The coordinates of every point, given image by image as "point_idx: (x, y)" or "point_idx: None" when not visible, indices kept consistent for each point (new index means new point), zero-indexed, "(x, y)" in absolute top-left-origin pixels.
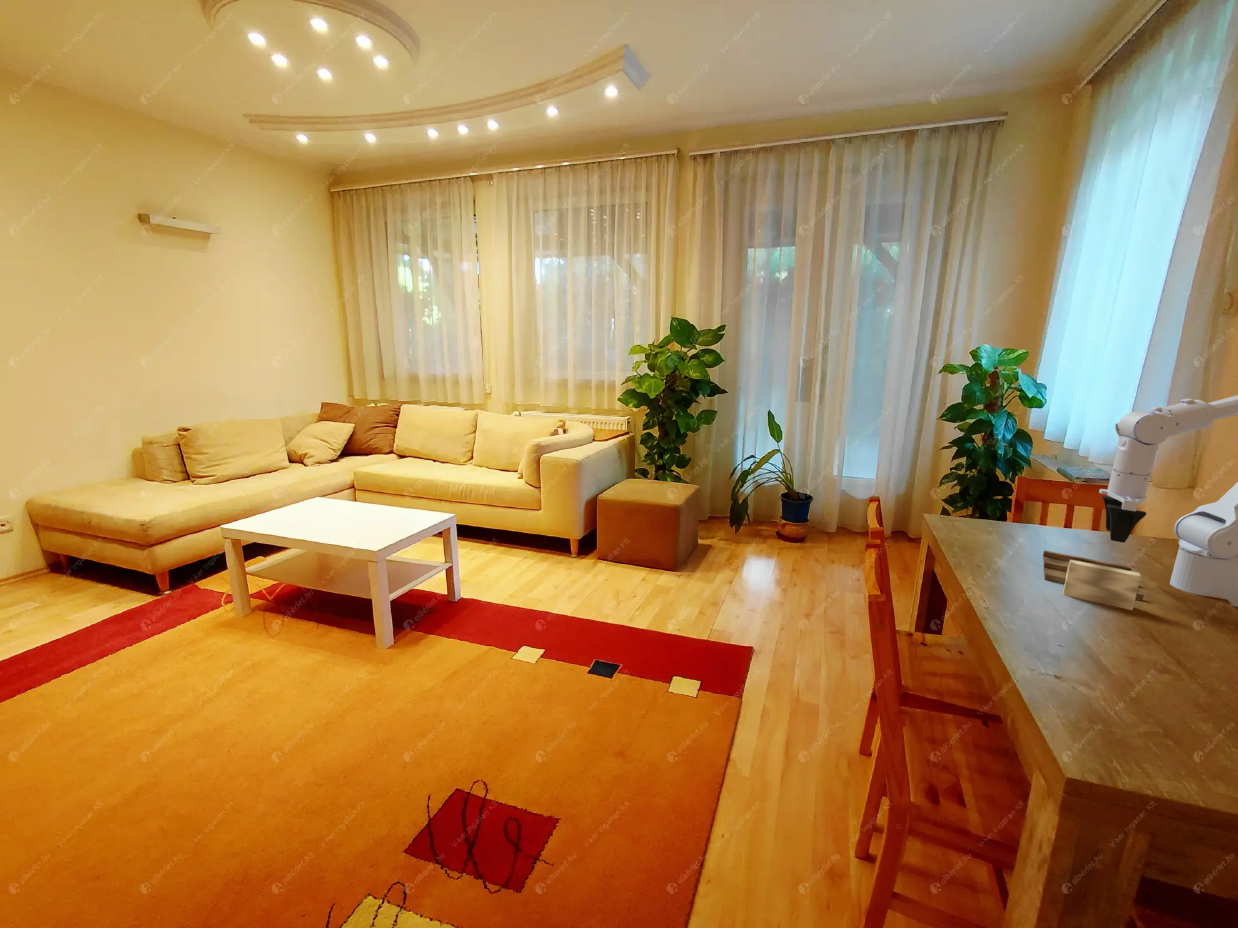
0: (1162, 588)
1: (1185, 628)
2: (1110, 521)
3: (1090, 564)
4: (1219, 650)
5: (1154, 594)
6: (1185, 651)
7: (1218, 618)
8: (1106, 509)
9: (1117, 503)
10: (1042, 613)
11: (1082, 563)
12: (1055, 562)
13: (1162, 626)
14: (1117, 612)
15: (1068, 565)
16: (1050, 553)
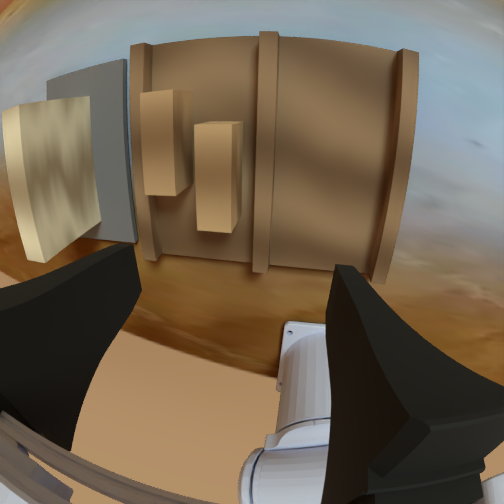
0: (320, 314)
1: None
2: (343, 310)
3: (16, 156)
4: None
5: (260, 289)
6: None
7: (193, 347)
8: (372, 346)
9: (357, 455)
10: (9, 88)
11: (12, 138)
12: (351, 76)
13: (79, 254)
14: None
15: (165, 91)
16: (401, 67)
